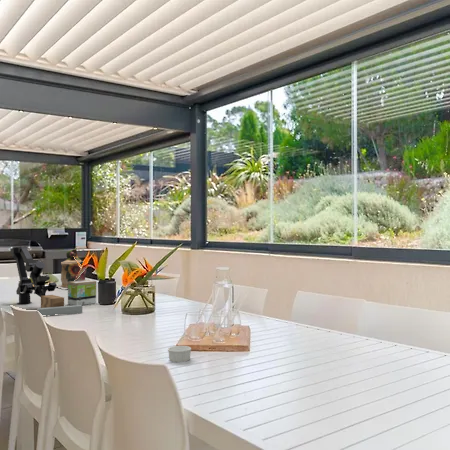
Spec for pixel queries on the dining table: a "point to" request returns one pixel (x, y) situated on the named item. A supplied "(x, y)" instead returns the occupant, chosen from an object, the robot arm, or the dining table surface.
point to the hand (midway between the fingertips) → (44, 298)
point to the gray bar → (61, 310)
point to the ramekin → (179, 353)
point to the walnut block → (51, 301)
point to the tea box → (81, 292)
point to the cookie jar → (70, 269)
